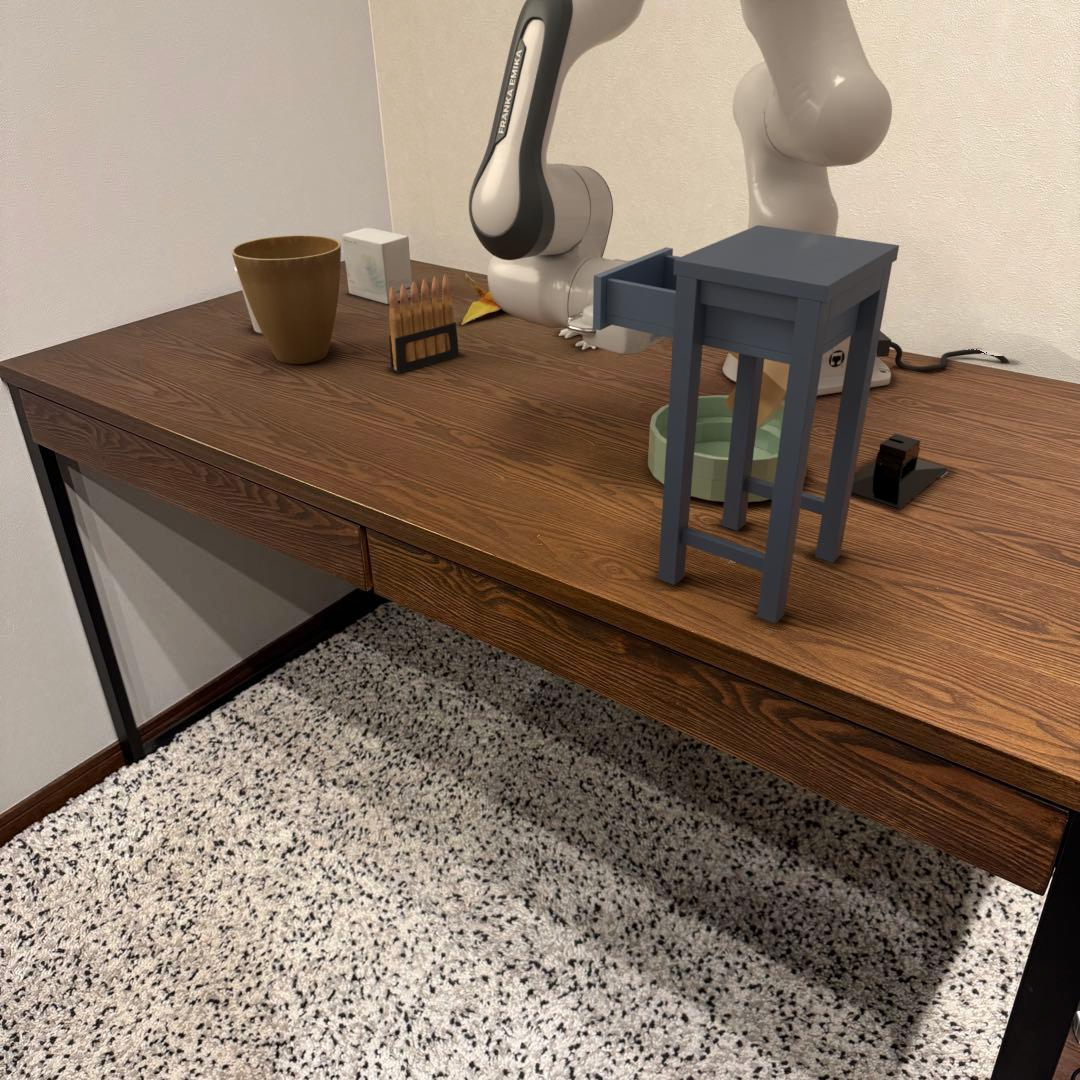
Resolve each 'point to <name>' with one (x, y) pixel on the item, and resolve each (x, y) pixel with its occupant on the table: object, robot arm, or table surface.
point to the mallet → (768, 391)
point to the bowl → (715, 448)
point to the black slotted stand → (896, 474)
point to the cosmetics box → (377, 263)
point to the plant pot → (292, 292)
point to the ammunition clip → (422, 327)
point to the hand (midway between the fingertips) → (722, 324)
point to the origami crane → (480, 303)
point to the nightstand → (758, 375)
